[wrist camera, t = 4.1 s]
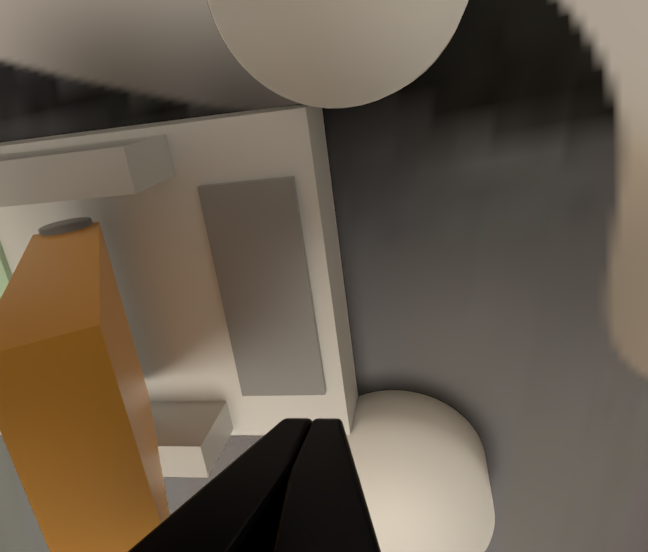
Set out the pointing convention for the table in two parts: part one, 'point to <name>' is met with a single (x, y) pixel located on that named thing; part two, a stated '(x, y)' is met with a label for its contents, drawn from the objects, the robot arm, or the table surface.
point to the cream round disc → (336, 44)
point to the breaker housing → (206, 265)
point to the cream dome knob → (421, 474)
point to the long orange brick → (77, 396)
